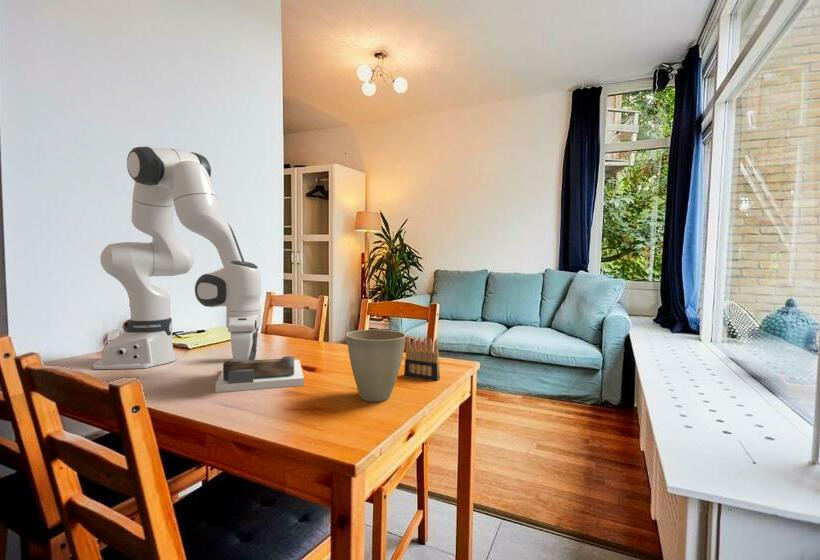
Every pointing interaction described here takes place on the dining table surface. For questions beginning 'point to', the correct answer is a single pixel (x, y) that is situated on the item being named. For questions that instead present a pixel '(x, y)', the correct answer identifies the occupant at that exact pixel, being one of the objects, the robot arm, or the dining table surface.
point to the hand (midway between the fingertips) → (243, 369)
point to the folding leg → (262, 367)
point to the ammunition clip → (422, 360)
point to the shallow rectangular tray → (258, 380)
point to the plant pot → (375, 361)
